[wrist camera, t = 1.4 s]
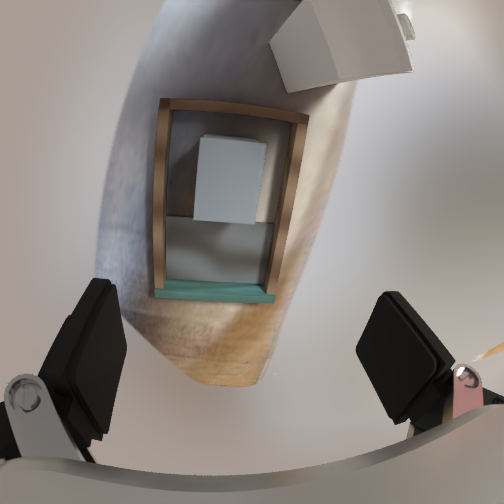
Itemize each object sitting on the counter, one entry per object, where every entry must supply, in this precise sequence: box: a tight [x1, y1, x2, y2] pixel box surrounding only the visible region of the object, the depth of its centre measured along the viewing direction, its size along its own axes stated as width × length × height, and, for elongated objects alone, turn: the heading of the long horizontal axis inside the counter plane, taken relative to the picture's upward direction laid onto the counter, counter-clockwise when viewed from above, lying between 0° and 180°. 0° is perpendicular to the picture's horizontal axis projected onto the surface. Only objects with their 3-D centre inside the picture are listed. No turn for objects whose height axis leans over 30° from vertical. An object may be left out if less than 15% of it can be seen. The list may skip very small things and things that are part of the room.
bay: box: [153, 98, 309, 303], centre depth 33 cm, size 25×16×3 cm, turn 172°
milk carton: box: [269, 0, 415, 93], centre depth 18 cm, size 7×7×19 cm
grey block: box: [193, 134, 267, 225], centre depth 29 cm, size 8×6×7 cm
